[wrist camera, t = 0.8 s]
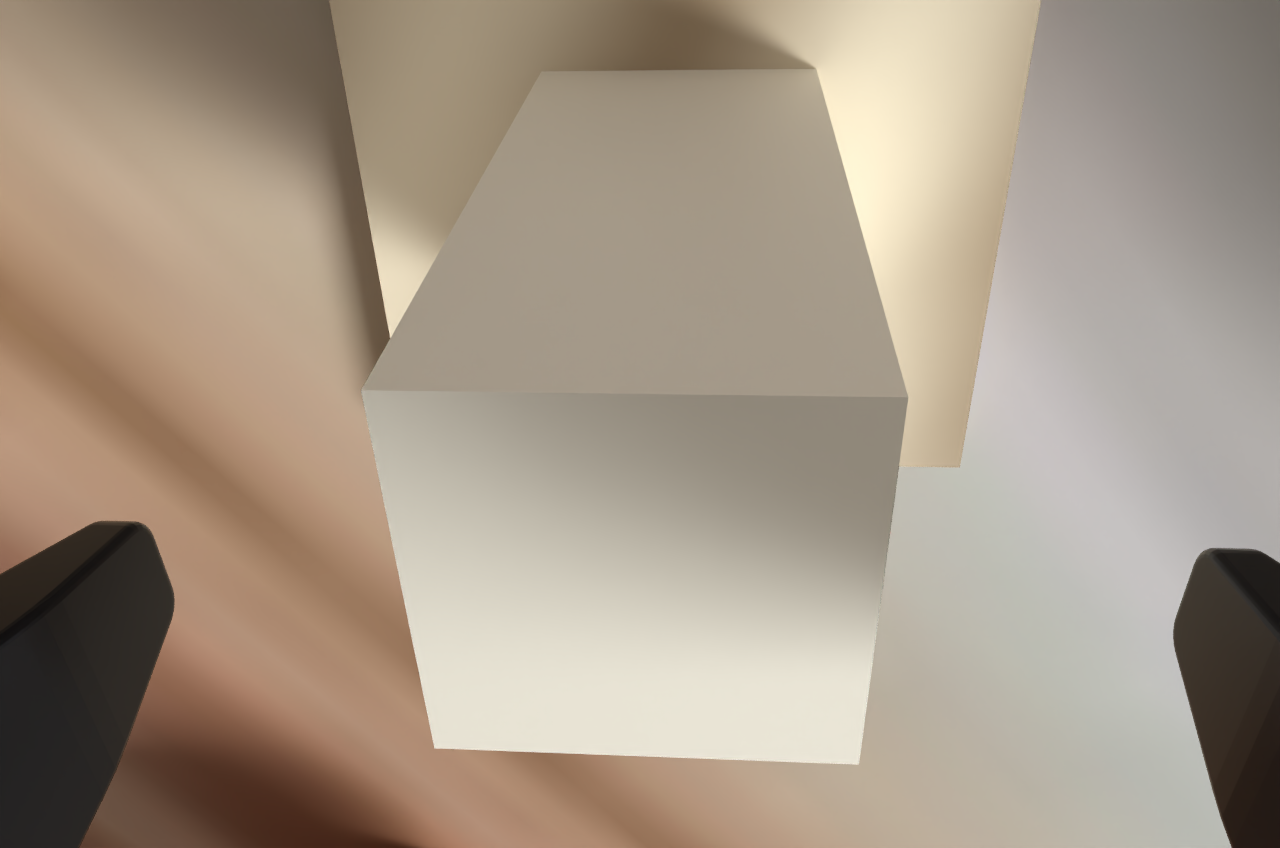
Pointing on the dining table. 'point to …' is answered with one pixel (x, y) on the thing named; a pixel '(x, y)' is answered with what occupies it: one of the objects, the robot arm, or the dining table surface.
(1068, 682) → the dining table surface
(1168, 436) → the dining table surface
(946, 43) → the stud base
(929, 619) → the dining table surface
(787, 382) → the strut
